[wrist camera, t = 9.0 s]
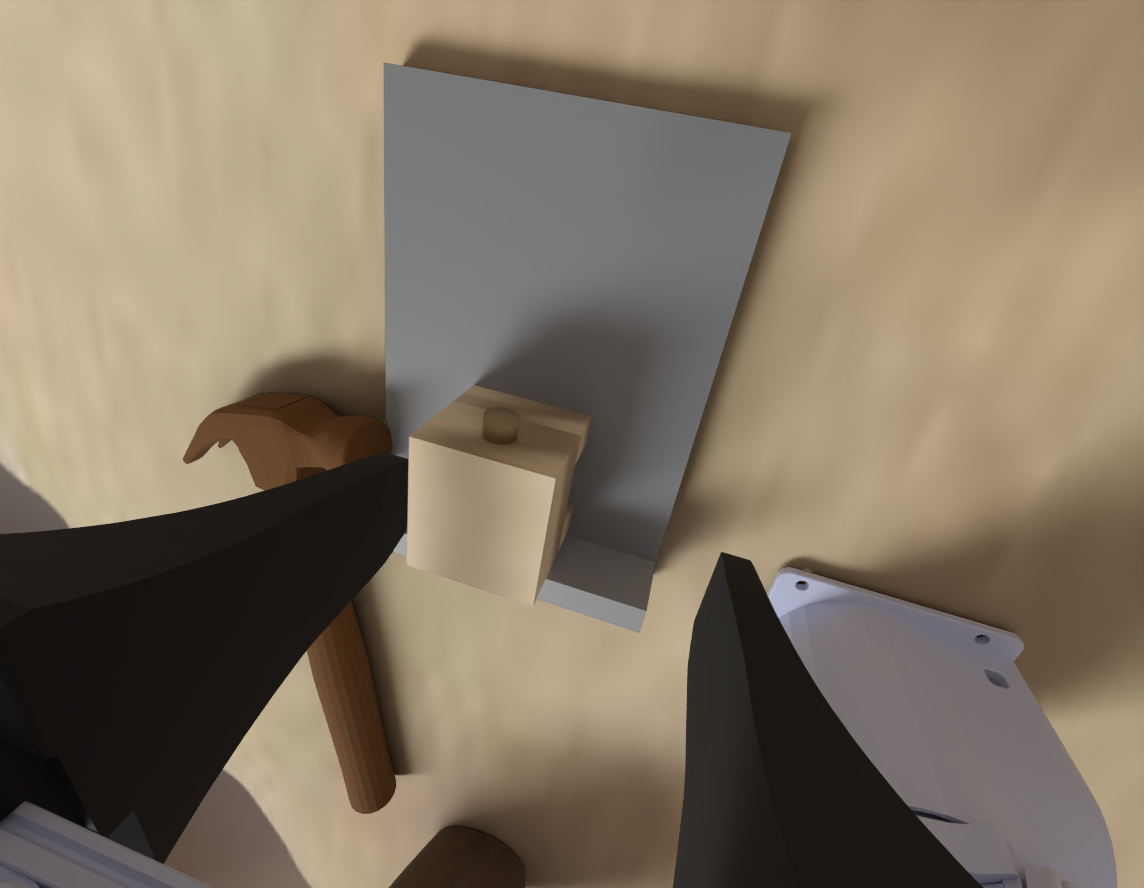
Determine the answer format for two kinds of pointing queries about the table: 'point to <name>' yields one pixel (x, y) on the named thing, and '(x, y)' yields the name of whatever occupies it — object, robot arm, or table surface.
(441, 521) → the cabinet block
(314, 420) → the hammer
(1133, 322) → the table surface
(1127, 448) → the table surface
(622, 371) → the wall board
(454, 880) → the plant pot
